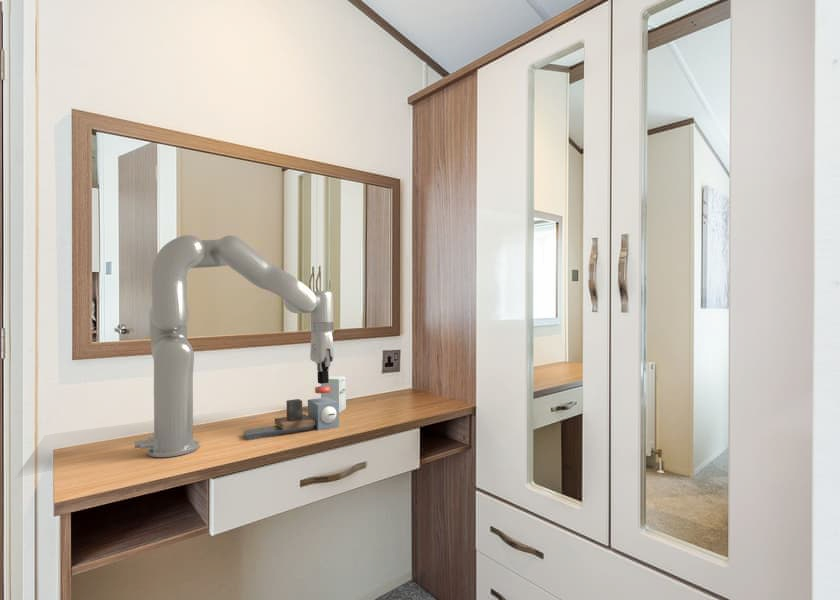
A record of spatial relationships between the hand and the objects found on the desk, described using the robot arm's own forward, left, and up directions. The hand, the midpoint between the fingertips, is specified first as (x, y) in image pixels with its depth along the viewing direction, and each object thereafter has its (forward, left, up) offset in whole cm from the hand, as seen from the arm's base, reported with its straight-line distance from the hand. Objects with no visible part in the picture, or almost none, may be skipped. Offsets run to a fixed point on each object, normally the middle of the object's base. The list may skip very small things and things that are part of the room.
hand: (323, 382), depth 149 cm
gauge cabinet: (0, 0, -14) cm, 14 cm away
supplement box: (+10, +17, -14) cm, 24 cm away
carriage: (-10, 0, -12) cm, 16 cm away
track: (-15, 0, -14) cm, 20 cm away
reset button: (0, 0, -3) cm, 3 cm away
